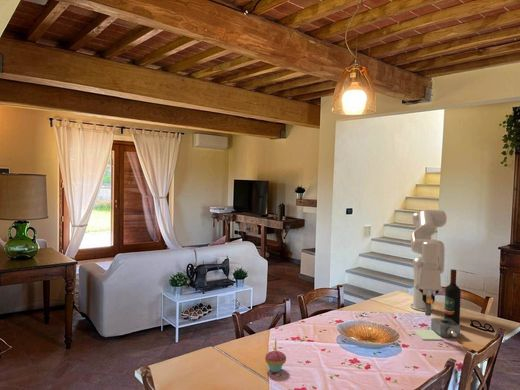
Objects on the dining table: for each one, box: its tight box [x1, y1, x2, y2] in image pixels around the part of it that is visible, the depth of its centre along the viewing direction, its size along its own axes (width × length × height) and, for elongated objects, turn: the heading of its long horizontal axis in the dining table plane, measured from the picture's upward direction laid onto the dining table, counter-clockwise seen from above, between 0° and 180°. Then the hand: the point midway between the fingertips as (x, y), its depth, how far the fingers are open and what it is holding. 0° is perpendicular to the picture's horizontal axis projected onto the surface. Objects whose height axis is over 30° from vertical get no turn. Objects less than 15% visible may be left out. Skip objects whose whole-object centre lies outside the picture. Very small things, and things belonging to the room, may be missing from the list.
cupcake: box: [264, 337, 287, 373], centre depth 154 cm, size 9×8×12 cm
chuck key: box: [424, 294, 434, 317], centre depth 193 cm, size 3×7×9 cm, turn 165°
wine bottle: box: [443, 269, 462, 326], centre depth 209 cm, size 8×8×30 cm
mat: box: [412, 329, 444, 341], centre depth 193 cm, size 12×10×1 cm
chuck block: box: [430, 317, 461, 338], centre depth 194 cm, size 15×10×6 cm
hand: (428, 302), depth 192 cm, fingers closed on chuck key, 2 cm apart
